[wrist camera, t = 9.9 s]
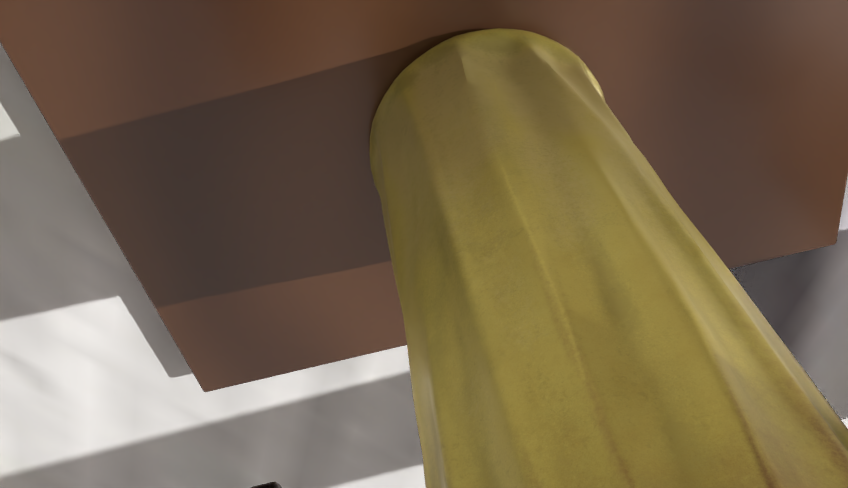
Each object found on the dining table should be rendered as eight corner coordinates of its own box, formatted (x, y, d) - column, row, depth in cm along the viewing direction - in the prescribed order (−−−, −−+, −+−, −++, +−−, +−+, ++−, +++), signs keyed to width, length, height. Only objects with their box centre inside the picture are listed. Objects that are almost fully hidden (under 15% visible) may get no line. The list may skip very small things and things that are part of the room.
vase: (320, 165, 17) (282, 979, 6) (482, -33, 15) (999, 643, 3) (492, 277, 20) (713, 990, 8) (652, 122, 18) (1283, 810, 6)
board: (892, -282, 14) (926, -285, 13) (817, 227, 21) (837, 244, 21) (-25, -44, 15) (-46, -35, 14) (208, 371, 22) (203, 393, 21)
